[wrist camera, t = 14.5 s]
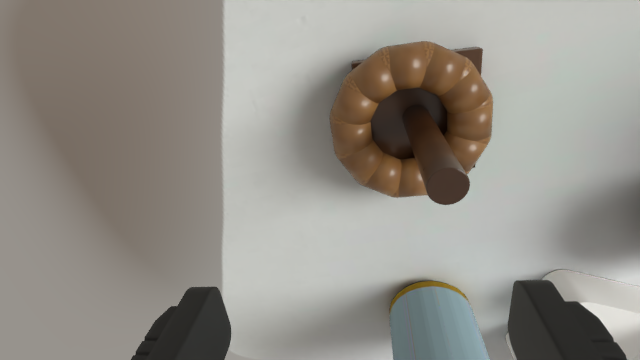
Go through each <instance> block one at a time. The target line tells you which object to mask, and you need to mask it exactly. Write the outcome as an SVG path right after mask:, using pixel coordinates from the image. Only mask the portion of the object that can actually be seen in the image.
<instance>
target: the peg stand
mask: <svg viewBox="0 0 640 360" xmlns="http://www.w3.org/2000/svg"><path fill="white" fill-rule="evenodd" d="M451 51H453V52H456V53H458V54H460V55H463V56H465V57H467V58H468V59H469V60H470V61H471V62H472V63H473V64H474V66H475V67H476V69H477V71H478V72H479V74H480V76H481V66H482V51H483V49H482V48H479V47H471V48H463V49H454V50H451ZM364 61H365V60H358V61H352V70H353V69H355V68H356V67H357V66H358V65H360V64H361V63H362V62H364ZM446 131H447V110H446V108H445V107H444V105H443V104H442V102H441V101H440V99H439V98H438V96H437V95H435V94H432V93H430V92H427V91H425V90H423V89H420V88H412V89H404V90H397V91H395V92H394V93H392V94H391V95H390V96H388V97H387V98H386V99H384V100H383V101H381V102H380V103H379V104H378V106H377V108H376V111H375V113H374V115H373V117H372V119H371V132H372V139H373V140H374V142H375V143H376V144H377V146H378V147H379V148H380V150H381V151H382V152H383V153H385V154H388V155H390V156H393V157H395V158H398V159H409V158H415V159H416V162H417V165H418V168H419V171H420V174H421V177H422V180H423V183H424V186H425V189H426V192H427V194H428V196H429V197H430V199H432V200H433V201H434V202H436V203H439V204H443V205H449V204H454V203H456V202H458V201H460V200H461V199H463V198H464V197H465V195H466V194H467V192H468V190H469V186H470V182H469V178H468V176H467V174H466V173H465V171H464V169H463V168H462V166H461V164H460V163H459V161H458V159H457V158H456V156H455V154H454V153H453V151H452V149H451V148H450V146H449V144H448V143H447V141H446V139H445V138H444V134H445V133H446ZM474 167H475V164H474V166H473V167H472V168H474Z"/></svg>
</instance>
